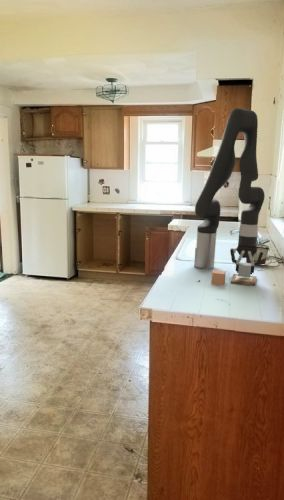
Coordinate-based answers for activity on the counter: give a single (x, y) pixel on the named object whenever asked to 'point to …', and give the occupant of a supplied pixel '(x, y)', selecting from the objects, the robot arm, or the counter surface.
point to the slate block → (244, 269)
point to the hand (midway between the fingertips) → (244, 273)
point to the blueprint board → (243, 280)
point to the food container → (265, 251)
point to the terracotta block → (218, 277)
